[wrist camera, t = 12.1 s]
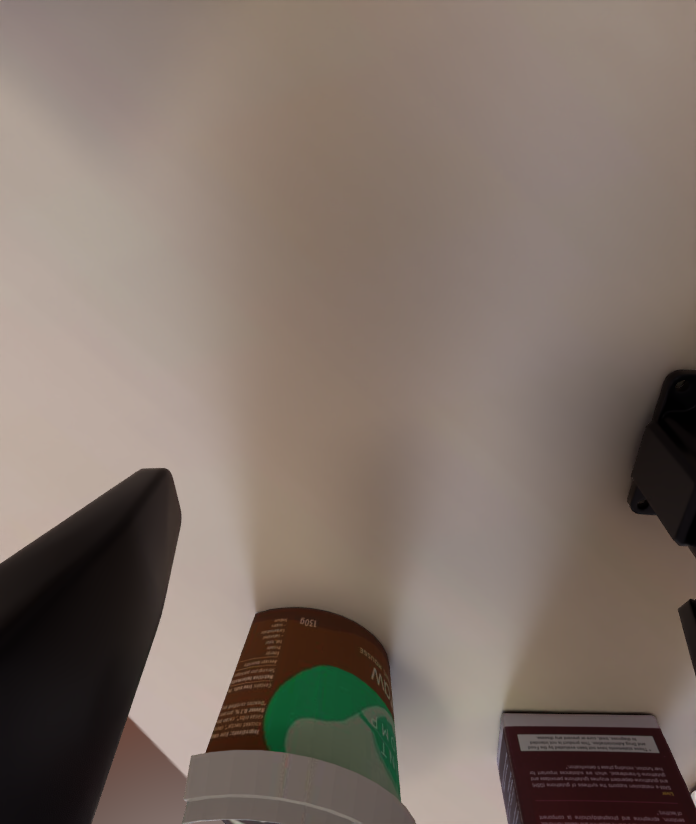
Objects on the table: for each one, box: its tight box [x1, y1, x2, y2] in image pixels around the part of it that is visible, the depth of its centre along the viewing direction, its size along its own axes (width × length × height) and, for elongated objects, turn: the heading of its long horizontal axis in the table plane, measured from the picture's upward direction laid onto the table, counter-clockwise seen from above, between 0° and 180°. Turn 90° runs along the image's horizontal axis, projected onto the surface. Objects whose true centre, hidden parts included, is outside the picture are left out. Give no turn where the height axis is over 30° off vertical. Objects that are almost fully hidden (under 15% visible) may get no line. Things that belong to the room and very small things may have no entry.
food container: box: [182, 608, 416, 824], centre depth 25 cm, size 12×6×10 cm, turn 28°
